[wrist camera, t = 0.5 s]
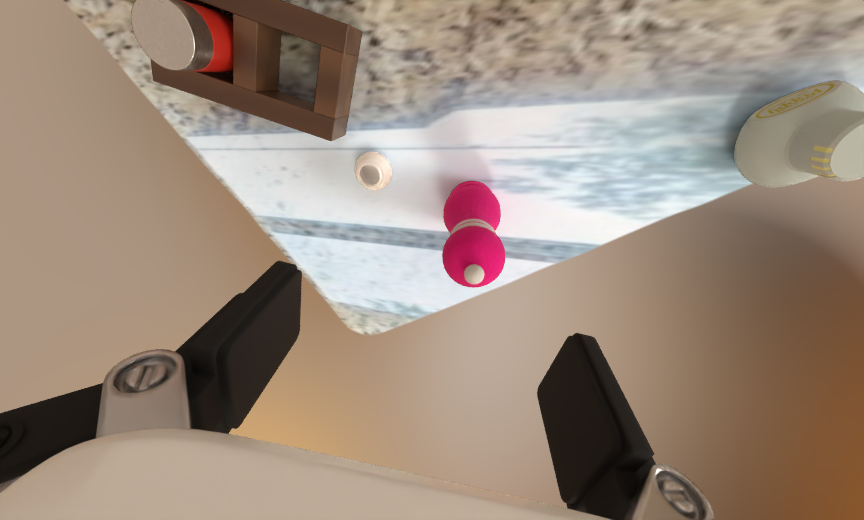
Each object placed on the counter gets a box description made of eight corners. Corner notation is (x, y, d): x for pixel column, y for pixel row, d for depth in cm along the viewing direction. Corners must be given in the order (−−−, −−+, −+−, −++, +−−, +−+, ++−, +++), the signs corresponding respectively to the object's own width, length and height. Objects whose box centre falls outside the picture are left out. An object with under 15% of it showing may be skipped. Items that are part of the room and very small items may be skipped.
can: (205, 5, 37) (124, -19, 28) (257, 23, 37) (193, 6, 28) (208, 63, 39) (135, 58, 31) (255, 79, 40) (196, 79, 31)
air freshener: (726, 187, 41) (797, 215, 32) (714, 127, 38) (788, 140, 29) (834, 140, 37) (946, 158, 29) (830, 69, 34) (954, 66, 26)
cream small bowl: (378, 143, 42) (349, 163, 44) (372, 147, 40) (341, 169, 41) (399, 176, 44) (371, 194, 46) (395, 182, 42) (365, 201, 43)
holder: (178, -36, 35) (137, -53, 31) (362, 31, 36) (348, 24, 32) (186, 80, 41) (152, 80, 36) (345, 135, 42) (331, 141, 38)
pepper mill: (434, 206, 46) (415, 283, 28) (468, 165, 43) (469, 224, 25) (473, 236, 47) (478, 326, 30) (508, 199, 44) (536, 275, 27)
